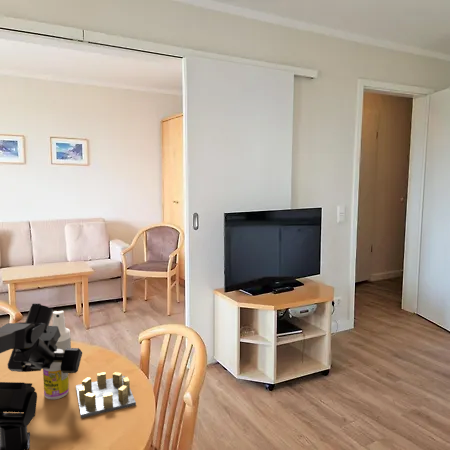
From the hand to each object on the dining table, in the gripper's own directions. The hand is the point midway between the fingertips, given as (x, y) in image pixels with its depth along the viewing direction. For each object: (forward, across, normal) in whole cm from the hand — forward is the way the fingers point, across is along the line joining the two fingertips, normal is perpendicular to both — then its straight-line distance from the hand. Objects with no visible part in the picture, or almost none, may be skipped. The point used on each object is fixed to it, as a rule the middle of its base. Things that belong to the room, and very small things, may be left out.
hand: (56, 369), depth 118 cm
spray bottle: (+18, +7, -7) cm, 21 cm away
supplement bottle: (+5, 0, +6) cm, 8 cm away
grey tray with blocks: (+4, -14, +6) cm, 16 cm away
